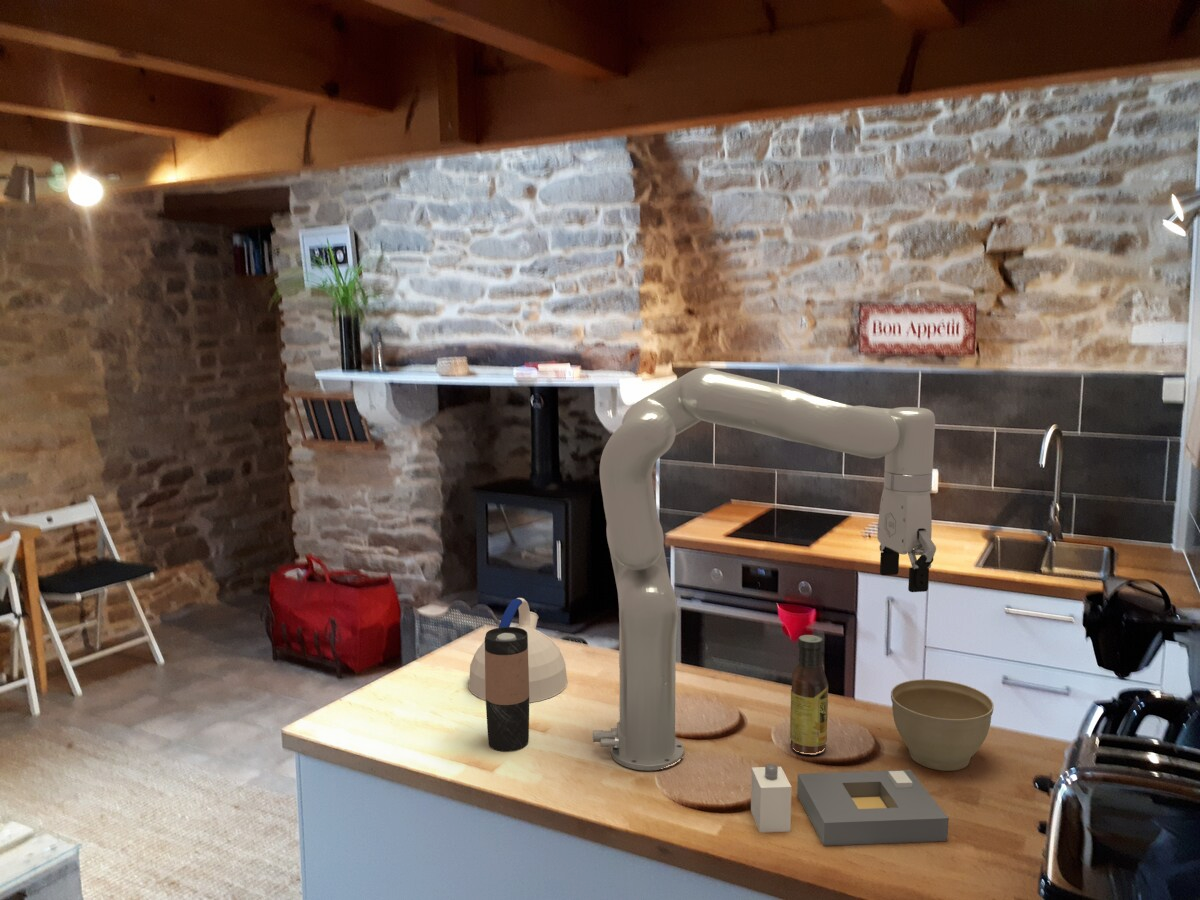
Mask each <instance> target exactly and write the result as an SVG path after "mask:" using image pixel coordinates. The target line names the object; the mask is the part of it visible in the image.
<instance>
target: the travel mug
mask: <svg viewBox="0 0 1200 900" xmlns="http://www.w3.org/2000/svg"><path fill="white" fill-rule="evenodd" d="M484 641H485V693H486V700H485V710H486V726H487V728H486V729H487V742H488V746H489V747H490V749H493V750H495V751H497V752H505V753H506V752H508V753H509V752H516V751H519V750H521V749H523V748H525V747H526V746H527V745H528V744H529V742H530V741H529V740H530V737H529V736H530V703H529V666H528V634H527V632H526V631H525V630H524V629H521V628H517V627H516V626H510V627H500V628H499V627H496V628H491V629H490V630H488V631H486V633H485V637H484Z"/></svg>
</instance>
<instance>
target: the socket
mask: <svg viewBox="0 0 1200 900" xmlns="http://www.w3.org/2000/svg"><path fill="white" fill-rule="evenodd" d="M796 782H797V784H796V785H797V787H796V789H797V792H796V795H797V797H798V799H799V801H800V803H801V805H802V806H803V809H804V810H805V812H806V814H807V816H808V819H809V820H810V822H811V824H812V826H813V827H814V830H815V832H816V833H817V836H818V837H819V839H820V841H821V844H822V845H823V846H824V847H827V846H850V845H852V846H853V845H874V844H875V845H876V844H877V845H878V844H900V843H901V844H903V843H925V842H927V843H928V842H948V838H949V821H950V820H949V817H948V815H947V814H946V813H945V811H944V810H943V809H942V807H940V805H939V804H938V802H937V801H936V800H935V799H934V798H933V796H932V795H931V794H930V793H929V792H928V790H927V789H926V787H924V785H923V784H922V782H920V780H919V779H918V777H917V776H916V775H915V774H914V773H913V771H912V770H911V769H896V770H871V771H869V770H867V771H843V772H842V771H840V772H839V771H837V772H836V771H835V772H811V773H809V772H808V773H807V772H806V773H797V781H796Z"/></svg>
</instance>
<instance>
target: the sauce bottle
mask: <svg viewBox="0 0 1200 900" xmlns="http://www.w3.org/2000/svg"><path fill="white" fill-rule="evenodd" d="M797 643H798V649H799V653H798V654H799V655H798V656H799V658H798V665H797V666H796V668H794V670H793V672H792V675H791V689H790V715H789V716H790V722H789V739H790V744H789V745H790V748H791V747H792V748H794V749H795V750H796V751H799V752H804V753H816V752H819V751H822V750H823V749H824V748H825V746H827V742H828V736H827V735H828V716H829V715H828V714H829V713H828V710H829V705H828V703H829V700H828V699H829V683H828V679H827V676H826V673H825V670H824V666H823V664H822V663H823V661H822V649H823V646H824V643H823V638H822V637H821V636H817V635H813V634H804V635H800V636H799V637H798V642H797ZM792 748H791V749H792ZM825 749H826V748H825Z"/></svg>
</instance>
